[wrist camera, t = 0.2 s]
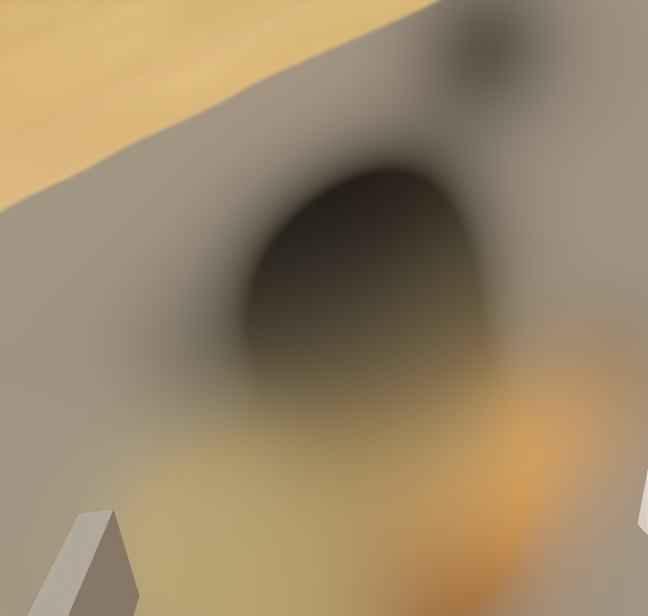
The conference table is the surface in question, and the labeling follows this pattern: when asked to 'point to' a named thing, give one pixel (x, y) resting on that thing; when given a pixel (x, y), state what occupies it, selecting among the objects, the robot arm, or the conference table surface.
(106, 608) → the robot arm
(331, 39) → the conference table surface
